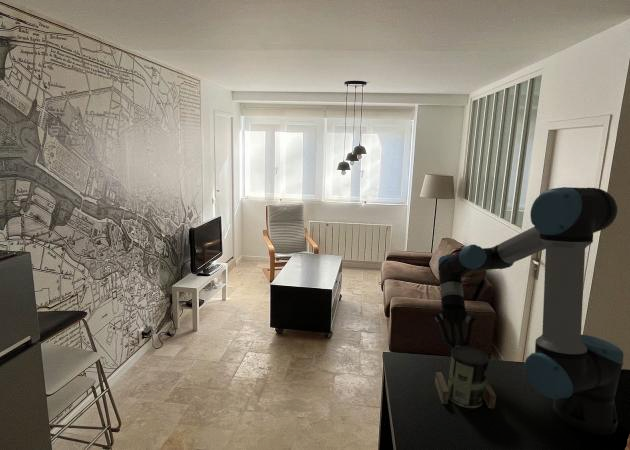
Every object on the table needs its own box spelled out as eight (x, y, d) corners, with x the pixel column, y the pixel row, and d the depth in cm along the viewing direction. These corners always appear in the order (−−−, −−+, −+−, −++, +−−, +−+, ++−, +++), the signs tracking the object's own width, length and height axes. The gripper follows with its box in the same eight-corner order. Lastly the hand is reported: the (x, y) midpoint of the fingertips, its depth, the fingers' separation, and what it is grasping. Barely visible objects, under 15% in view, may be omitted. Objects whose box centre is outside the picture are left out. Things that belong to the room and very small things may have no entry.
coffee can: (479, 390, 125) (485, 348, 122) (485, 411, 115) (492, 366, 112) (444, 384, 127) (449, 343, 124) (448, 405, 117) (453, 360, 114)
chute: (483, 387, 126) (484, 376, 125) (494, 408, 116) (496, 395, 115) (434, 383, 127) (436, 371, 126) (442, 403, 117) (443, 391, 116)
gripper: (468, 303, 142) (477, 372, 129) (430, 300, 143) (435, 369, 130) (475, 294, 135) (484, 366, 123) (435, 291, 136) (440, 363, 123)
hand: (459, 368), depth 126 cm, fingers closed
